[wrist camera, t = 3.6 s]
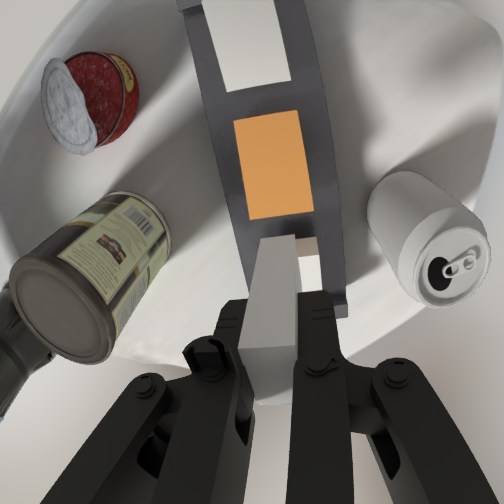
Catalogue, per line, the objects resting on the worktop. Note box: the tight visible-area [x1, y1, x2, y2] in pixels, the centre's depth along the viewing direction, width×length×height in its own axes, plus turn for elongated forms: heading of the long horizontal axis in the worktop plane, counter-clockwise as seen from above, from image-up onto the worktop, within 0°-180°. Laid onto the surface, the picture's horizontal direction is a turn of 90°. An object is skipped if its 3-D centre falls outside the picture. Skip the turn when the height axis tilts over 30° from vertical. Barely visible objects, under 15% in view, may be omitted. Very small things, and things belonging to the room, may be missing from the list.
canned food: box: [41, 51, 139, 156], centre depth 22 cm, size 11×10×10 cm
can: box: [367, 171, 491, 309], centre depth 21 cm, size 8×8×12 cm
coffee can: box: [9, 191, 171, 365], centre depth 25 cm, size 10×10×14 cm
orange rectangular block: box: [233, 110, 314, 220], centre depth 21 cm, size 7×4×2 cm, turn 12°
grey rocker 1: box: [295, 237, 322, 292], centre depth 25 cm, size 7×4×2 cm, turn 11°
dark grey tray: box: [176, 0, 348, 319], centre depth 24 cm, size 30×9×5 cm, turn 12°
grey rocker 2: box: [201, 0, 291, 92], centre depth 17 cm, size 7×4×2 cm, turn 12°
